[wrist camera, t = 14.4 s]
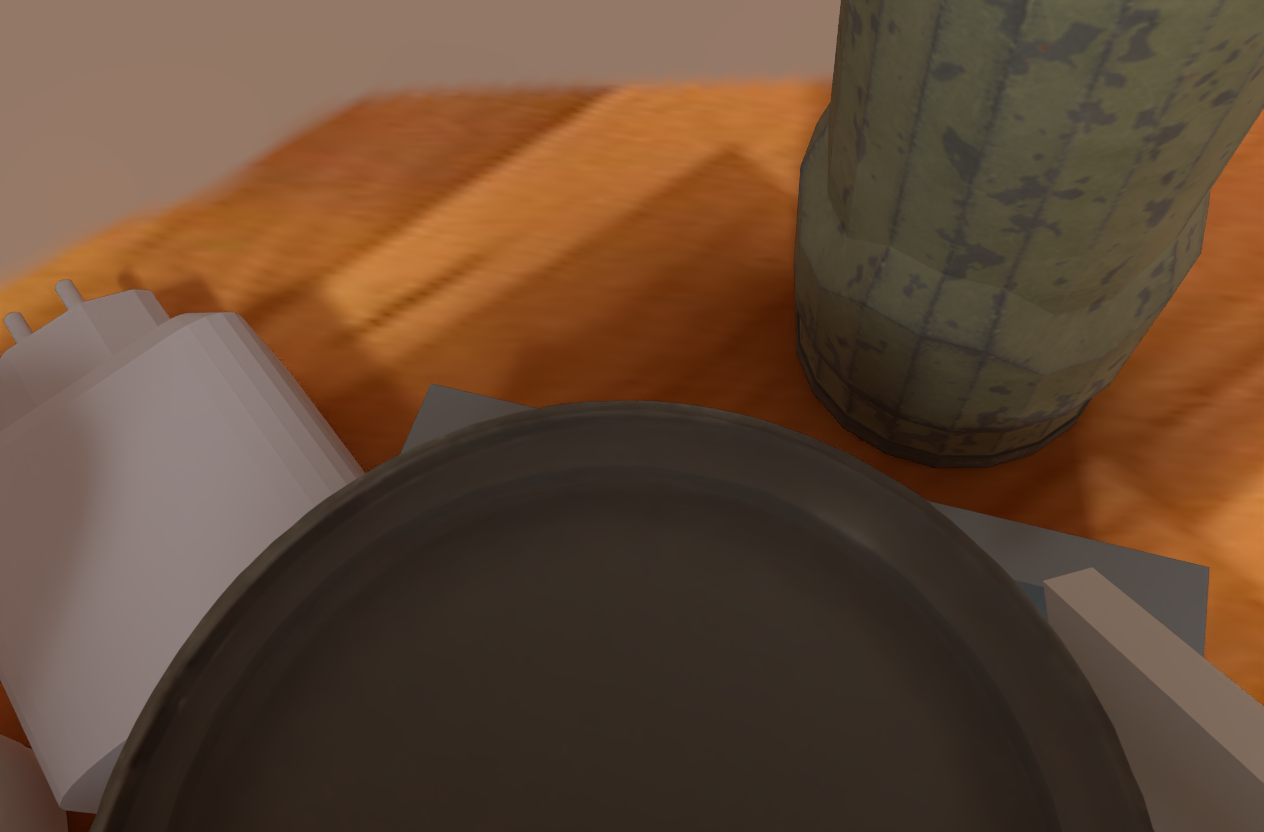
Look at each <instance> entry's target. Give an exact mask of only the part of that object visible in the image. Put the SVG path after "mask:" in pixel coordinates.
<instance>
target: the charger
mask: <svg viewBox="0 0 1264 832" xmlns="http://www.w3.org/2000/svg"><path fill="white" fill-rule="evenodd" d="M55 290H56V292H57V293H58V295H59V297H60V298H61V300H62V301H63V303H64V305H65V306H66V308H67V309H68V311H66V312H65V313H63V314H62V315H60V316H58V317H57V318H55V319H54V320H52V321H51V322H49V323H48V324H46V325H45V326H43V327H42V328H40V329H38V330H37V331H35V332H34V333H32V331H31V329H30V328H29V326H28V324H27V323H26V321H25V319H24V317H23V316H22V314H21V313H19V312H12V313H9V314H7V315H6V317H5V319H4V323H5V325H6V327H7V328H8V330H9V332H10V333H11V335H12V337H13V339H14V340H15V342H16V344H15V345H14V346H12V347H11V348H9V349H8V350H6V351H5V352H4V353H3V355H2V356H1V358H0V681H1V683H2V685H3V687H4V689H5V691H6V693H7V696H8V698H9V700H10V702H11V704H12V706H13V708H14V711H15V713H16V715H17V717H18V719H19V721H20V723H21V726H22V728H23V730H24V732H25V734H26V736H27V738H28V741H29V743H30V745H31V747H32V749H33V751H34V753H35V756H36V758H37V760H38V762H39V764H40V766H41V769H42V771H43V773H44V775H45V777H46V779H47V781H48V784H49V786H50V788H51V790H52V792H53V794H54V796H55V799H56V801H57V803H58V805H59V807H61V808H62V809H63V810H68V811H76V812H84V813H92V814H97V811H98V808H99V805H100V801H101V798H102V795H103V793H104V790H105V787H106V785H107V782H108V780H109V777H110V775H111V773H112V771H113V768H114V766H115V764H116V762H117V759H118V757H119V755H120V753H121V751H122V749H123V747H124V745H125V743H126V741H127V738H128V736H129V734H130V732H131V730H132V728H133V726H134V724H135V722H136V720H137V718H138V716H139V715H140V713H141V711H142V709H143V707H144V706H145V704H146V702H147V700H148V699H149V697H150V695H151V693H152V691H153V690H154V688H155V687H156V685H157V684H158V682H159V680H160V679H161V677H162V676H163V674H164V673H165V671H166V669H167V668H168V666H169V665H170V663H171V662H172V660H173V658H174V657H175V655H176V654H177V652H178V651H179V649H180V648H181V647H182V645H183V644H184V643H185V641H186V640H187V638H188V637H189V636H190V634H191V633H192V632H193V630H194V629H195V628H196V626H197V625H198V624H199V622H200V621H201V619H202V618H203V617H204V616H205V614H206V613H207V612H208V611H209V609H210V608H211V607H212V605H213V604H214V603H215V602H216V600H217V599H218V598H219V597H220V596H221V594H222V593H223V592H224V591H225V590H226V589H227V588H228V587H229V585H230V584H231V583H232V582H233V581H234V580H235V579H236V577H237V576H238V575H239V574H240V573H241V572H242V571H243V570H244V569H245V568H247V567H248V566H249V565H250V564H251V563H252V562H253V561H254V560H255V559H256V558H257V557H258V556H259V555H260V554H261V553H262V552H263V551H264V550H265V549H266V548H267V547H268V546H269V545H270V544H271V543H272V542H273V541H274V540H275V539H277V538H278V537H279V536H280V535H282V534H283V533H284V532H285V531H287V530H288V529H289V528H290V527H292V526H293V525H294V524H295V523H296V522H297V521H298V520H299V519H301V518H302V517H303V516H304V515H305V514H306V513H307V512H309V511H310V510H311V509H313V508H314V507H315V506H317V505H318V504H319V503H321V502H322V501H323V500H324V499H326V498H328V497H329V496H331V495H332V494H334V493H335V492H337V491H338V490H340V489H341V488H343V487H344V486H346V485H347V484H349V483H351V482H352V481H354V480H355V479H357V478H359V477H360V476H362V475H363V474H365V472H364V471H363V469H362V468H361V467H360V465H359V464H358V463H357V461H356V460H355V459H354V457H353V456H352V455H351V453H350V452H349V451H348V449H347V448H346V447H345V445H344V444H343V442H342V441H341V440H340V438H339V437H338V436H337V434H336V433H335V432H334V430H333V429H332V428H331V426H330V425H329V424H328V422H327V421H326V420H325V418H324V417H323V416H322V414H321V413H320V412H319V410H318V409H317V408H316V406H315V405H314V404H313V402H312V401H311V400H310V398H309V397H308V396H307V394H306V393H305V392H304V390H303V389H302V388H301V386H300V385H299V383H298V382H297V381H296V379H295V378H294V377H293V375H292V374H291V373H290V371H289V370H288V369H287V368H286V366H285V365H284V364H283V363H282V362H281V361H280V360H279V358H278V357H277V356H276V355H275V354H274V353H273V352H272V350H271V349H270V348H269V347H268V346H267V345H266V344H265V342H264V341H263V340H262V339H261V338H260V337H259V336H258V335H257V333H256V332H255V331H254V330H253V329H252V328H251V327H250V325H249V324H248V323H247V322H246V321H245V320H244V319H243V317H242V316H241V315H239V314H237V313H235V312H206V313H184V314H181V315H178V316H176V317H173V318H171V319H170V318H169V316H168V315H167V313H166V312H165V310H164V309H163V308H162V306H161V305H160V303H159V302H158V300H157V299H156V297H155V296H154V295H153V293H152V292H151V290H137V289H132V290H128V291H124V292H120V293H116V294H112V295H108V296H104V297H100V298H96V299H93V300H89V301H84V300H83V298H82V296H81V295H80V293H79V292H78V290H77V289H76V287H75V286H74V284H73V282H72V281H71V280H61V281H59V282H58V283H57V284H56V286H55Z"/></svg>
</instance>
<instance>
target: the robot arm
mask: <svg viewBox="0 0 1264 832" xmlns="http://www.w3.org/2000/svg"><path fill="white" fill-rule="evenodd" d="M1043 585H1044V593H1045V601H1046V608H1047V616H1048V622H1049V624H1050V625H1051V626H1052V628H1053V629H1054V631H1055V632H1056V633H1057V635H1058V636H1059V637H1060V639H1061V640H1062V642H1063V643H1064V645H1065V646H1066V648H1067V649H1068V651H1069V652H1070V654H1071V655H1072V657H1073V658H1074V660H1075V661H1076V663H1077V664H1078V666H1079V668H1080V669H1081V671H1082V672H1083V674H1084V675H1085V677H1086V678H1087V680H1088V681H1089V683H1090V685H1091V687H1092V688H1093V690H1094V692H1095V694H1096V695H1097V697H1098V699H1099V701H1100V702H1101V704H1102V706H1103V708H1104V710H1105V711H1106V713H1107V715H1108V717H1109V718H1110V720H1111V722H1112V724H1113V725H1114V727H1115V730H1116V732H1117V735H1118V737H1119V740H1120V742H1121V745H1122V747H1123V750H1124V752H1125V755H1126V757H1127V760H1128V762H1129V765H1130V767H1131V770H1132V772H1133V775H1134V777H1135V779H1136V781H1137V783H1138V786H1139V788H1140V790H1141V792H1142V794H1143V797H1144V800H1145V803H1146V806H1147V810H1148V813H1149V816H1150V820H1151V823H1152V827H1153V830H1154V832H1264V706H1263V705H1261V704H1260V703H1259V702H1258V701H1257V700H1255V699H1254V698H1253V697H1252V696H1250V695H1249V694H1248V693H1247V692H1245V691H1244V690H1243V689H1242V688H1240V687H1239V686H1238V685H1237V684H1236V683H1234V682H1233V681H1232V680H1231V679H1229V678H1228V677H1227V676H1226V675H1224V674H1223V673H1222V672H1221V671H1220V670H1218V669H1217V668H1216V667H1215V666H1213V665H1212V664H1211V663H1210V662H1208V661H1207V660H1206V659H1205V658H1204V657H1202V656H1201V655H1200V654H1199V653H1197V652H1196V651H1195V650H1194V649H1192V648H1191V647H1190V646H1189V645H1188V644H1186V643H1185V642H1184V641H1183V640H1181V639H1180V638H1179V637H1178V636H1176V635H1175V634H1174V633H1173V632H1171V631H1170V630H1169V629H1168V628H1167V627H1165V626H1164V625H1163V624H1162V623H1160V622H1159V621H1158V620H1157V619H1155V618H1154V617H1153V616H1152V615H1151V614H1149V613H1148V612H1147V611H1146V610H1144V609H1143V608H1142V607H1141V606H1139V605H1138V604H1137V603H1136V602H1135V601H1133V600H1132V599H1131V598H1130V597H1128V596H1127V595H1126V594H1125V593H1123V592H1122V591H1121V590H1120V589H1118V588H1117V587H1116V586H1115V585H1114V584H1112V583H1111V582H1110V581H1109V580H1107V579H1106V578H1105V577H1104V576H1102V575H1101V574H1100V573H1099V572H1098V571H1096V570H1095V569H1094V568H1093V567H1091V568H1088V569H1084V570H1081V571H1077V572H1073V573H1070V574H1066V575H1062V576H1059V577H1055V578H1051V579H1048V580H1044V581H1043Z"/></svg>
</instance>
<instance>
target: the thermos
mask: <svg viewBox="0 0 1264 832" xmlns="http://www.w3.org/2000/svg"><path fill="white" fill-rule="evenodd" d="M1263 108H1264V0H841V6H840V16H839V25H838V35H837V45H836V55H835V64H834V74H833V84H832V94H831V102H830V104H829V105H828V107H827V108H826V110H825V112H824V113H823V115H822V116H821V118H820V119H819V121H818V122H817V125H816V127H815V130H814V133H813V135H812V138H811V140H810V143H809V146H808V148H807V151H806V154H805V156H804V159H803V162H802V164H801V168H800V182H799V196H798V210H797V225H796V239H795V253H794V285H795V307H796V344H797V355H798V358H799V360H800V363H801V365H802V368H803V370H804V372H805V375H806V377H807V380H808V382H809V385H810V387H811V390H812V392H813V393H814V395H815V396H816V397H817V398H818V399H819V400H820V402H821V403H822V404H823V405H824V406H825V407H826V408H827V410H828V411H829V412H830V413H831V414H832V415H833V416H834V418H835V419H836V420H837V421H838V422H839V423H840V424H841V426H842V427H843V428H845V429H847V430H848V431H850V432H851V433H853V434H855V435H856V436H858V437H859V438H861V439H863V440H864V441H866V442H868V443H869V444H871V445H872V446H874V447H876V448H877V449H879V450H880V451H882V452H884V453H886V454H889V455H893V456H896V457H900V458H903V459H907V460H910V461H914V462H917V463H921V464H924V465H928V466H931V467H946V468H987V467H990V466H993V465H997V464H1000V463H1003V462H1007V461H1010V460H1014V459H1017V458H1020V457H1024V456H1027V455H1030V454H1034V453H1035V452H1037V451H1038V450H1040V449H1041V448H1042V447H1044V446H1045V445H1047V444H1048V443H1050V442H1051V441H1052V440H1054V439H1055V438H1057V437H1058V436H1060V435H1061V434H1062V433H1064V432H1065V431H1067V430H1068V429H1070V428H1071V427H1072V426H1073V425H1074V423H1075V422H1076V420H1077V419H1078V417H1079V416H1080V415H1081V413H1082V412H1083V410H1084V409H1085V407H1086V406H1087V404H1088V403H1089V401H1090V400H1091V398H1092V397H1093V396H1094V395H1096V394H1097V393H1099V392H1100V391H1102V390H1103V389H1104V388H1106V387H1107V386H1109V385H1110V383H1111V382H1112V380H1113V379H1114V378H1115V376H1116V375H1117V373H1118V372H1119V371H1120V369H1121V368H1122V366H1123V365H1124V363H1125V362H1126V361H1127V359H1128V358H1129V356H1130V355H1131V354H1132V352H1133V351H1134V349H1135V348H1136V347H1137V345H1138V344H1139V342H1140V341H1141V339H1142V338H1143V337H1144V335H1145V334H1146V332H1147V331H1148V330H1149V328H1150V327H1151V325H1152V324H1153V322H1154V321H1155V320H1156V318H1157V317H1158V315H1159V314H1160V313H1161V311H1162V310H1163V308H1164V307H1165V306H1166V304H1167V303H1168V301H1169V300H1170V298H1171V297H1172V295H1173V294H1174V292H1175V291H1176V290H1177V288H1178V287H1179V285H1180V284H1181V282H1182V281H1183V279H1184V278H1185V276H1186V275H1187V273H1188V272H1189V270H1190V269H1191V267H1192V266H1193V264H1194V263H1195V261H1196V260H1197V258H1198V257H1199V255H1200V254H1201V250H1202V243H1203V237H1204V231H1205V225H1206V219H1207V213H1208V207H1209V198H1210V189H1211V188H1212V186H1213V185H1214V183H1215V182H1216V180H1217V179H1218V177H1219V176H1220V174H1221V173H1222V171H1223V170H1224V168H1225V166H1226V165H1227V163H1228V162H1229V160H1230V159H1231V157H1232V156H1233V154H1234V153H1235V151H1236V150H1237V148H1238V147H1239V145H1240V144H1241V142H1242V141H1243V139H1244V137H1245V136H1246V134H1247V133H1248V131H1249V130H1250V128H1251V127H1252V125H1253V124H1254V122H1255V121H1256V119H1257V118H1258V116H1259V115H1260V113H1261V112H1262V110H1263Z"/></svg>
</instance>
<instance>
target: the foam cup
mask: <svg viewBox="0 0 1264 832" xmlns="http://www.w3.org/2000/svg"><path fill="white" fill-rule="evenodd" d="M0 832H68V825H67V815H66V810H63V809H62V808H61V807H59V805H58V803H57V801H56V799H55V796H54V794H53V792H52V790H51V788H50V786H49V784H48V781H47V779H46V777H45V775H44V773H43V771H42V769H41V766H40V764H39V762H38V760H37V758H36V756H35V753H34V751H33V749H30V748H28V747H25V746H24V745H23V744H22V743H19V742H17V741H15V740H12V739H10V738H8V737H6V736H3V735H1V734H0Z"/></svg>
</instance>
